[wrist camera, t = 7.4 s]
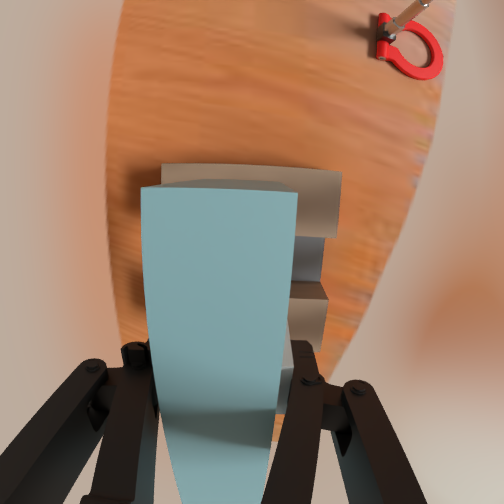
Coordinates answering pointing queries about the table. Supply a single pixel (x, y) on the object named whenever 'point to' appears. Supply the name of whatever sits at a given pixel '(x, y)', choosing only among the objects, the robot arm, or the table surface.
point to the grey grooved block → (306, 231)
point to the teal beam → (218, 326)
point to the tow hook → (404, 22)
